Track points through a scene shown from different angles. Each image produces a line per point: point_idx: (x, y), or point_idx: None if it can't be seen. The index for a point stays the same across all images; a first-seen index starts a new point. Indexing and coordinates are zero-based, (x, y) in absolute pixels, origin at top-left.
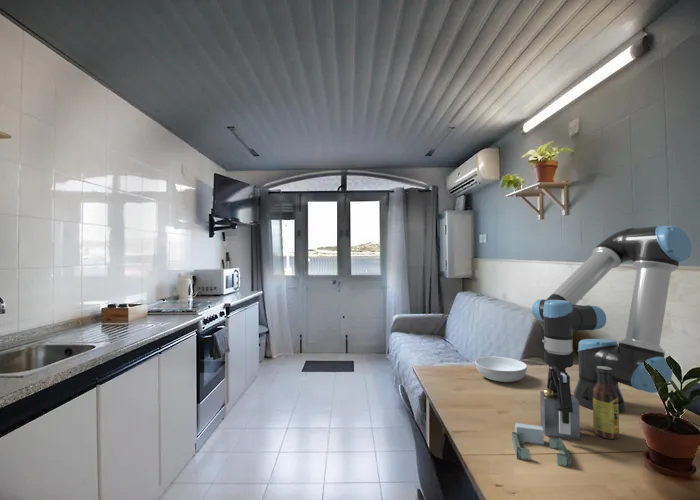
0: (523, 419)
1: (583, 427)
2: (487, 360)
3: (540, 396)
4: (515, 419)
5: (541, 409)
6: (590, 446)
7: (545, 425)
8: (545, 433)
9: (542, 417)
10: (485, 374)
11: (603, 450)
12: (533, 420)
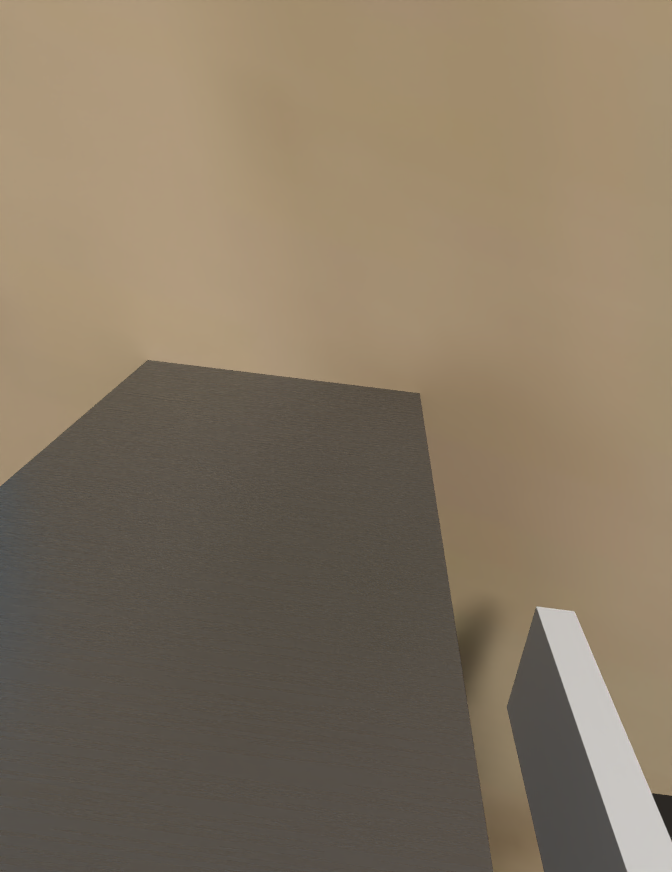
0: (642, 197)
1: None
2: None
3: (448, 780)
4: (641, 38)
5: (335, 528)
6: None
7: (92, 418)
8: (135, 373)
9: (268, 456)
10: None
11: None
12: (608, 351)
